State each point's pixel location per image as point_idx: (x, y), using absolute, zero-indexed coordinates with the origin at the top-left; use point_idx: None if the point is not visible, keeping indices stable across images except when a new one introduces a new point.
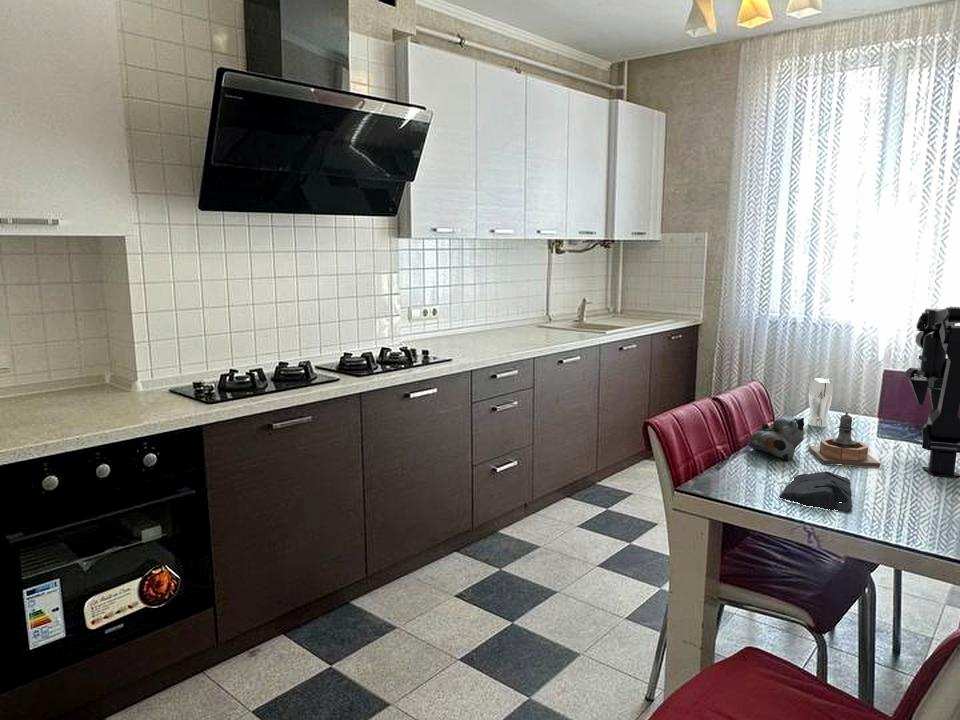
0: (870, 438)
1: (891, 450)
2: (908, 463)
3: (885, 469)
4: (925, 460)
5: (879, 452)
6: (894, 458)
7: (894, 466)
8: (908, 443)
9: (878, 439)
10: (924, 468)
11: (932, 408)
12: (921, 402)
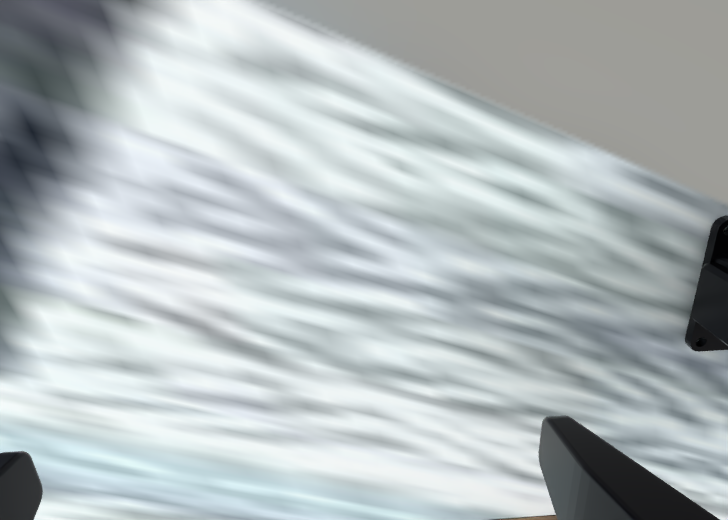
0: (55, 420)
1: (324, 384)
2: (585, 376)
3: (689, 493)
4: (513, 270)
5: (387, 449)
6: (496, 412)
7: (642, 449)
8: (86, 233)
9: (59, 384)
10: (719, 349)
11: (556, 508)
12: (16, 497)
